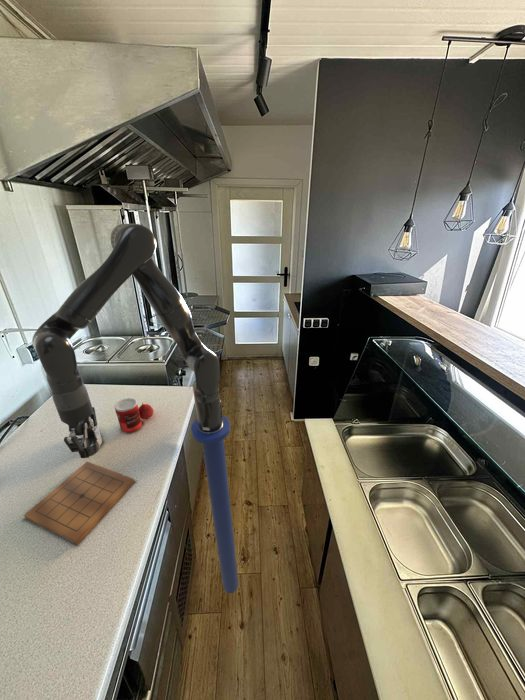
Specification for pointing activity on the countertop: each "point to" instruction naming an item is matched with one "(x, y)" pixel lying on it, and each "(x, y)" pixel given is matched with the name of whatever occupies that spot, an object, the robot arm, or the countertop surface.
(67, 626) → the countertop surface
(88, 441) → the black stone
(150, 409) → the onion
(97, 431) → the stone
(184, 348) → the robot arm
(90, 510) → the grid board
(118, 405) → the canned food
